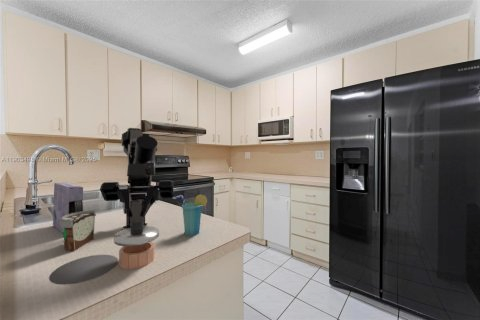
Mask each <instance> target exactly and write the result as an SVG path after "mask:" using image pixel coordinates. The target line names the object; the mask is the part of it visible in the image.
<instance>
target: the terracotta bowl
mask: <svg viewBox="0 0 480 320" xmlns="http://www.w3.org/2000/svg"><path fill="white" fill-rule="evenodd" d="M155 247H156V246H155V243H154V242H153V241H151V242H148V243H145V244H142V245H136V246H121V248H120V249H119V250H118V265H119V267H121V268H122V269H126V270H132V269H139V268H143V267H145V266H146V267H147V266H148V265H150V264H151V263H153V262H154V260H155V257H156V256H155V254H156V252H155V251H156V250H155V249H156V248H155Z"/></svg>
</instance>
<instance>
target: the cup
mask: <svg viewBox="0 0 480 320" xmlns="http://www.w3.org/2000/svg"><path fill="white" fill-rule="evenodd" d="M179 198H181V201H182V202H183V203H182V204H181V208H182V215H183V227H184V229H183V230H184V234H185V235H186V236H197V235H198V234H200V229H201V218H202V209H203V208H204V207H206V205H207V203H208V198H207V196H206V195H205V194H204V195H203V194H198V195H196V196H195V198H194V201H193V202H186V200H185V197H184V195H181V194H178V195H177V196H173V197H172V198H171V200H173V201H174V200H176V199H179Z"/></svg>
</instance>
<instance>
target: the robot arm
mask: <svg viewBox="0 0 480 320" xmlns="http://www.w3.org/2000/svg"><path fill="white" fill-rule="evenodd" d="M142 131H143V130H142V128H136V127H129V128H127V131H125V132H123V133H122V134H121V140H120V141H121V143H120V144H121V147H122V149H123V152H124V153H125V155H126V156H127V169H126V170H127V172H126V176H127V184H120V182H119V181H107V182H106V181H105V182H102V184H100V188H99V190H100V194H101V195H102V199H103V200H104V201H106V202H115V201H119V202H120V203H123V205H122V209H123V214H124V215H126V219H125V220H126V221H125V222H126V223H125V225H123V226H122V227H123V229H128V228H130V201H132V200H143V217H144V226H148V223H147V222H146V215H148V212H149V210H150V208H151V207H152V206H153V205H154V203H155V202H159V200H160V198H161V199H172V198H173V197H174V181H172V180H159V182H158V185H154V184H153V185H152V180H153V179H152V177H153V176H155V175H156V163H155V162H154V160H155V158H156V152H158V140H156V138H154V137H152V136H151V135H150V134H149V133H143V132H142Z"/></svg>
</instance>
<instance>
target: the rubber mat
mask: <svg viewBox="0 0 480 320" xmlns="http://www.w3.org/2000/svg"><path fill="white" fill-rule="evenodd" d="M118 264H119V258H117V257H116V256H115V255H110V254H95V255H87V256H84V257H81V258H77V259H74V260H72V261H69V262H66V263H65V264H62V265H60V266H59V267H57V268H56V269H55V270H53V271H52V272H51V273H50V274H49V277H48V279H49V281H50V282H51V283H53V284H54V285H72V284H74V285H75V284H81V283H83V282H87V281H90V280H94V279H97V278H99V277H101V276H103V275H106V274H107V273H109V272H110V271H113V269H115V268H116V266H117V265H118Z"/></svg>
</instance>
